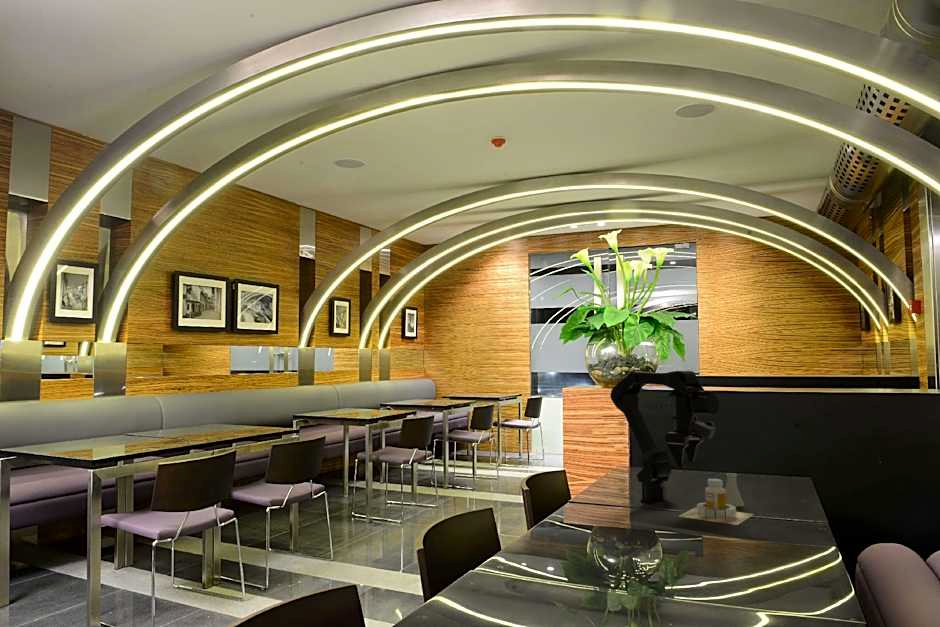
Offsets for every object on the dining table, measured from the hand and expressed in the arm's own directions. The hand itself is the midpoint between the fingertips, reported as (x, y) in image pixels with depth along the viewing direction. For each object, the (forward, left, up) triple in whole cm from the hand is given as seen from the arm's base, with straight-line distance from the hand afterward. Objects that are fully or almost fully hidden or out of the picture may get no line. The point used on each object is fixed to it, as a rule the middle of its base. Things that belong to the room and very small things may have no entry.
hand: (685, 464), depth 199 cm
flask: (+10, +11, -13) cm, 20 cm away
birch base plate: (+11, -7, -13) cm, 18 cm away
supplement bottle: (+11, -7, -12) cm, 18 cm away
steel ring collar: (+11, -7, -12) cm, 18 cm away
